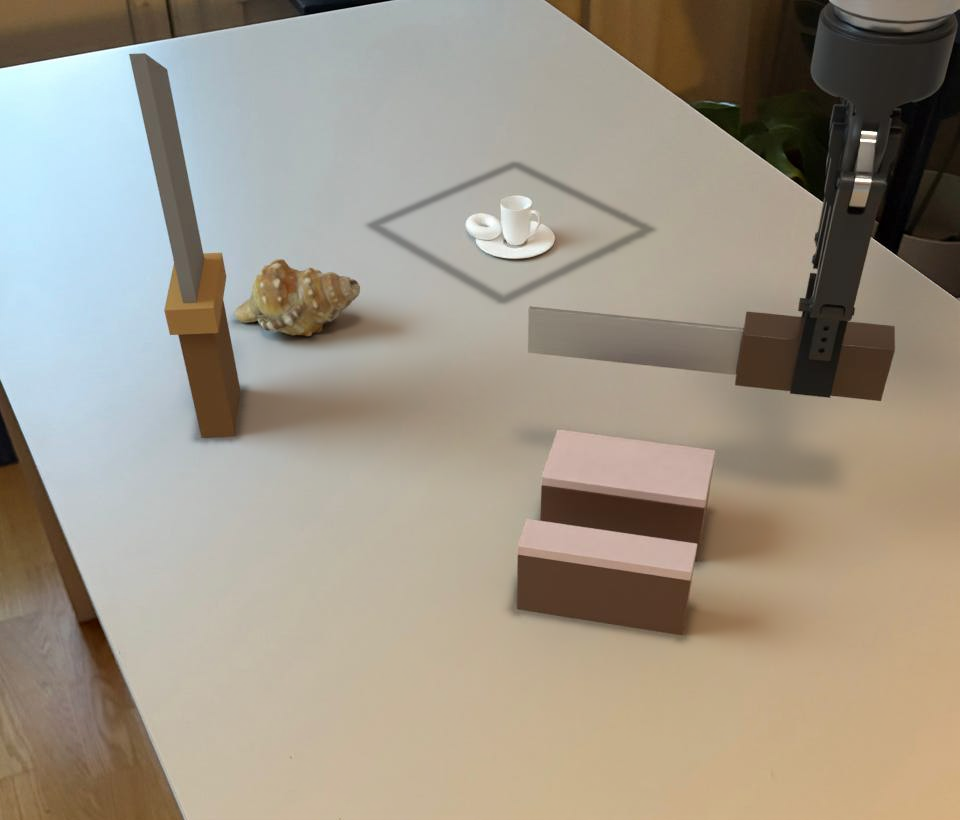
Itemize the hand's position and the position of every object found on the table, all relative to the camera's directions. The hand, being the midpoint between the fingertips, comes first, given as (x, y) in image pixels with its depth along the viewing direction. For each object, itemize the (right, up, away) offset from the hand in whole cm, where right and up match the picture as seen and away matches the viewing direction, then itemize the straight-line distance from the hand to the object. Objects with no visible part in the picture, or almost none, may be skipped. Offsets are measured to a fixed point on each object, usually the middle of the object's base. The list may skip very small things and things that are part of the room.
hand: (811, 377), depth 85 cm
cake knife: (-7, +1, +1) cm, 8 cm away
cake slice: (-14, -16, +3) cm, 22 cm away
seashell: (-40, +13, +28) cm, 51 cm away
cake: (-12, -9, +9) cm, 18 cm away
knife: (-45, +2, +19) cm, 49 cm away
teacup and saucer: (-20, +27, +40) cm, 52 cm away
